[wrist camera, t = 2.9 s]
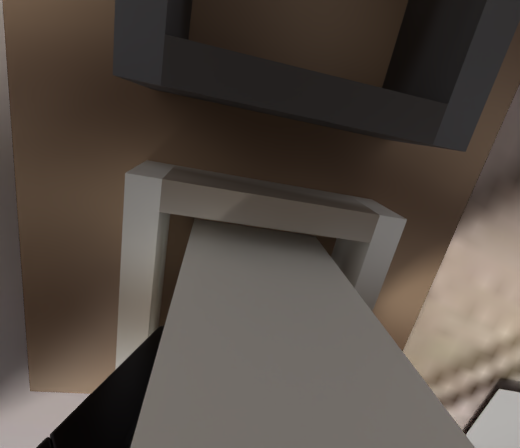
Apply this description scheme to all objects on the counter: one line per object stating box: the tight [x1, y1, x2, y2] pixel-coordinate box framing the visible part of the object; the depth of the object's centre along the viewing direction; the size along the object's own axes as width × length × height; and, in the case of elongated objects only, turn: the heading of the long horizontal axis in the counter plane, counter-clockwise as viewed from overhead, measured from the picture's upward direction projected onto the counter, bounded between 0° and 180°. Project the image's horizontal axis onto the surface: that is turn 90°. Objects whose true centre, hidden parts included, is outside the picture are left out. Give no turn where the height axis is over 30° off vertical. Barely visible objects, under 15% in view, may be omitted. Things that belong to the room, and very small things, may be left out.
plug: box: [130, 219, 475, 448], centre depth 6 cm, size 5×4×9 cm
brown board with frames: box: [2, 0, 520, 394], centre depth 8 cm, size 20×14×4 cm
